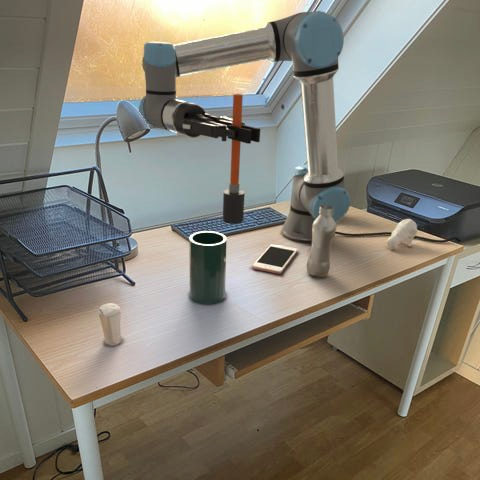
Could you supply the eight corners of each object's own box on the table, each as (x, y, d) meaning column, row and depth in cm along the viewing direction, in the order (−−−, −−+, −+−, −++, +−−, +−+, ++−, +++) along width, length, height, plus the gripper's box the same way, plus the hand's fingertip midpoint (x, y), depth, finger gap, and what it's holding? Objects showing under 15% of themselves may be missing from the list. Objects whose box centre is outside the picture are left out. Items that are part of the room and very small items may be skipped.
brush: (239, 216, 119) (245, 93, 104) (245, 223, 115) (253, 96, 100) (220, 217, 117) (223, 92, 103) (226, 224, 113) (230, 96, 99)
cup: (218, 285, 129) (220, 229, 120) (229, 301, 122) (231, 243, 113) (186, 289, 126) (185, 232, 118) (195, 306, 119) (194, 247, 111)
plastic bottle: (314, 267, 141) (324, 201, 131) (333, 275, 137) (344, 208, 127) (300, 273, 137) (309, 206, 127) (319, 281, 133) (329, 213, 123)
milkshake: (96, 346, 103) (90, 306, 97) (110, 334, 107) (105, 295, 102) (114, 351, 101) (109, 311, 96) (127, 338, 106) (123, 299, 100)
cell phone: (251, 268, 139) (251, 265, 138) (271, 246, 153) (271, 243, 152) (280, 274, 136) (280, 271, 135) (297, 251, 150) (297, 248, 150)
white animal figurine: (421, 220, 154) (400, 231, 148) (416, 244, 159) (396, 256, 153) (404, 214, 158) (383, 225, 152) (399, 238, 163) (379, 249, 157)
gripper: (208, 132, 123) (276, 150, 109) (161, 138, 113) (228, 158, 99) (209, 100, 119) (279, 114, 105) (159, 104, 109) (229, 120, 95)
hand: (254, 136), depth 102 cm, fingers closed on brush, 2 cm apart
